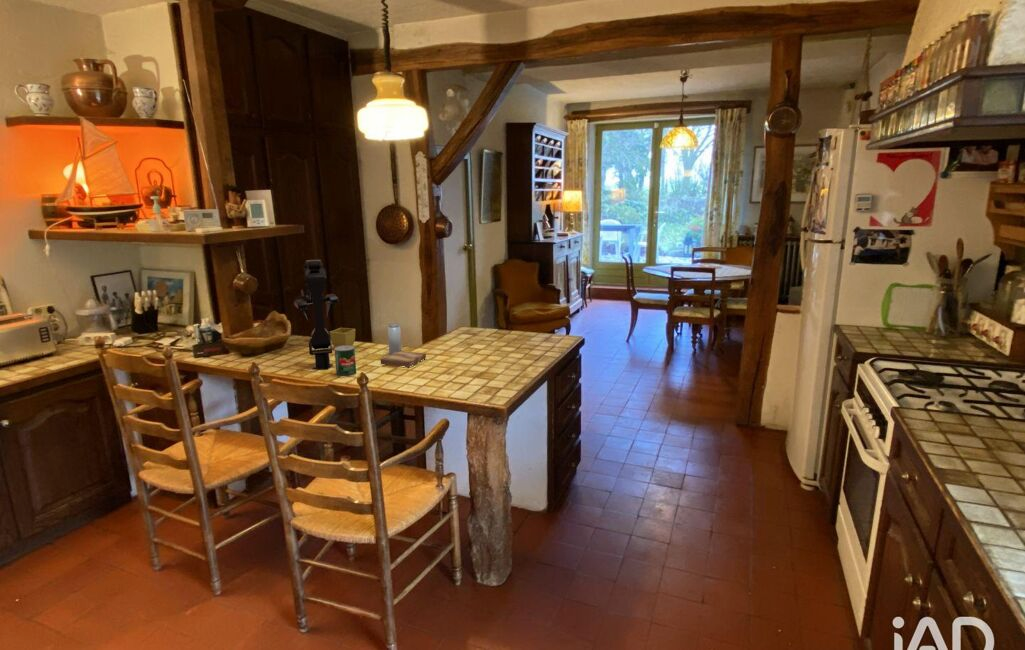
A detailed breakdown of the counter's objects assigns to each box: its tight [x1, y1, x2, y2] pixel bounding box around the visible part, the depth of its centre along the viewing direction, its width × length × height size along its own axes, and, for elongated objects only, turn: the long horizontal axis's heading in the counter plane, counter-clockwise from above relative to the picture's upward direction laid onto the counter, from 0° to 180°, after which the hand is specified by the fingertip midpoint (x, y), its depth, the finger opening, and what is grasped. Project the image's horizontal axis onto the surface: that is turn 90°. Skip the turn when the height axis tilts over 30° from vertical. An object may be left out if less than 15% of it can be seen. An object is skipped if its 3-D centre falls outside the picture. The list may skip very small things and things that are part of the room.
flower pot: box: [329, 327, 356, 348], centre depth 268 cm, size 9×9×9 cm
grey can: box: [387, 323, 403, 354], centre depth 258 cm, size 6×6×14 cm
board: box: [380, 350, 427, 368], centre depth 247 cm, size 14×14×3 cm
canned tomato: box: [334, 345, 357, 377], centre depth 230 cm, size 8×8×11 cm
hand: (318, 318), depth 265 cm, fingers open, 9 cm apart
